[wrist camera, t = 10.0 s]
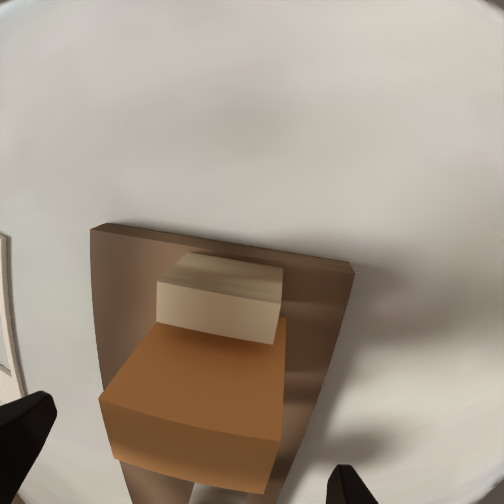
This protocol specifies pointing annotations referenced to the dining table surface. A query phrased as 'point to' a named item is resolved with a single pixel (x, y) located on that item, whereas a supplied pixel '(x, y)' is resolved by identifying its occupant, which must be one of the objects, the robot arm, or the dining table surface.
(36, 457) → the robot arm
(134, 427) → the orange brown block
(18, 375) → the photo frame
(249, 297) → the winding board
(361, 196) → the dining table surface
